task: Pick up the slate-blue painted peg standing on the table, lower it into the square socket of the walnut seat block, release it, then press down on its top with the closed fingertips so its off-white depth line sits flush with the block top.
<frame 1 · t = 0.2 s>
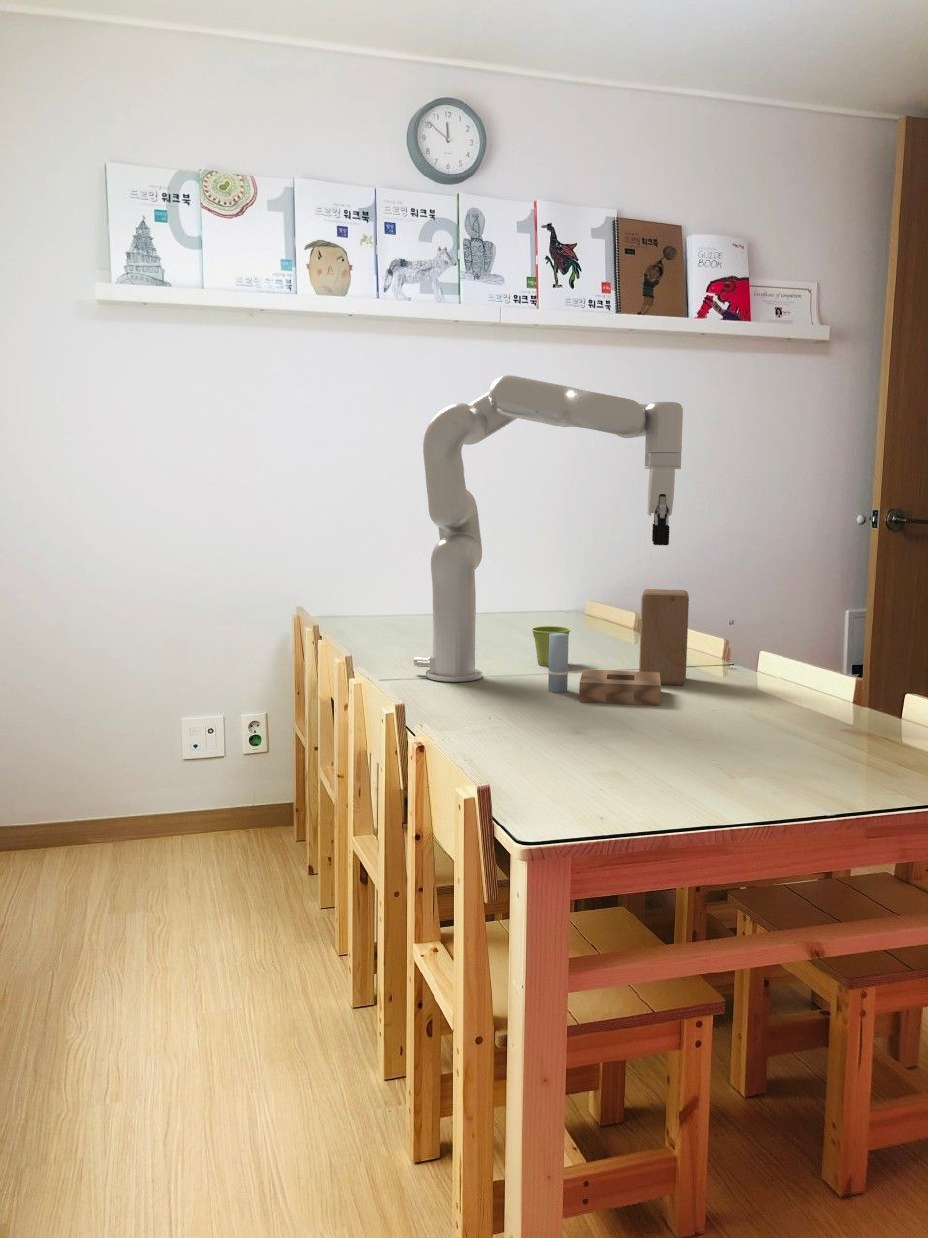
hand: (660, 543, 216), 31 cm above the table, fingers open, 9 cm apart
seat block: (620, 696, 209), on the table
plant pot: (550, 665, 244), on the table
wooden block: (662, 682, 225), on the table
peg: (557, 690, 214), on the table
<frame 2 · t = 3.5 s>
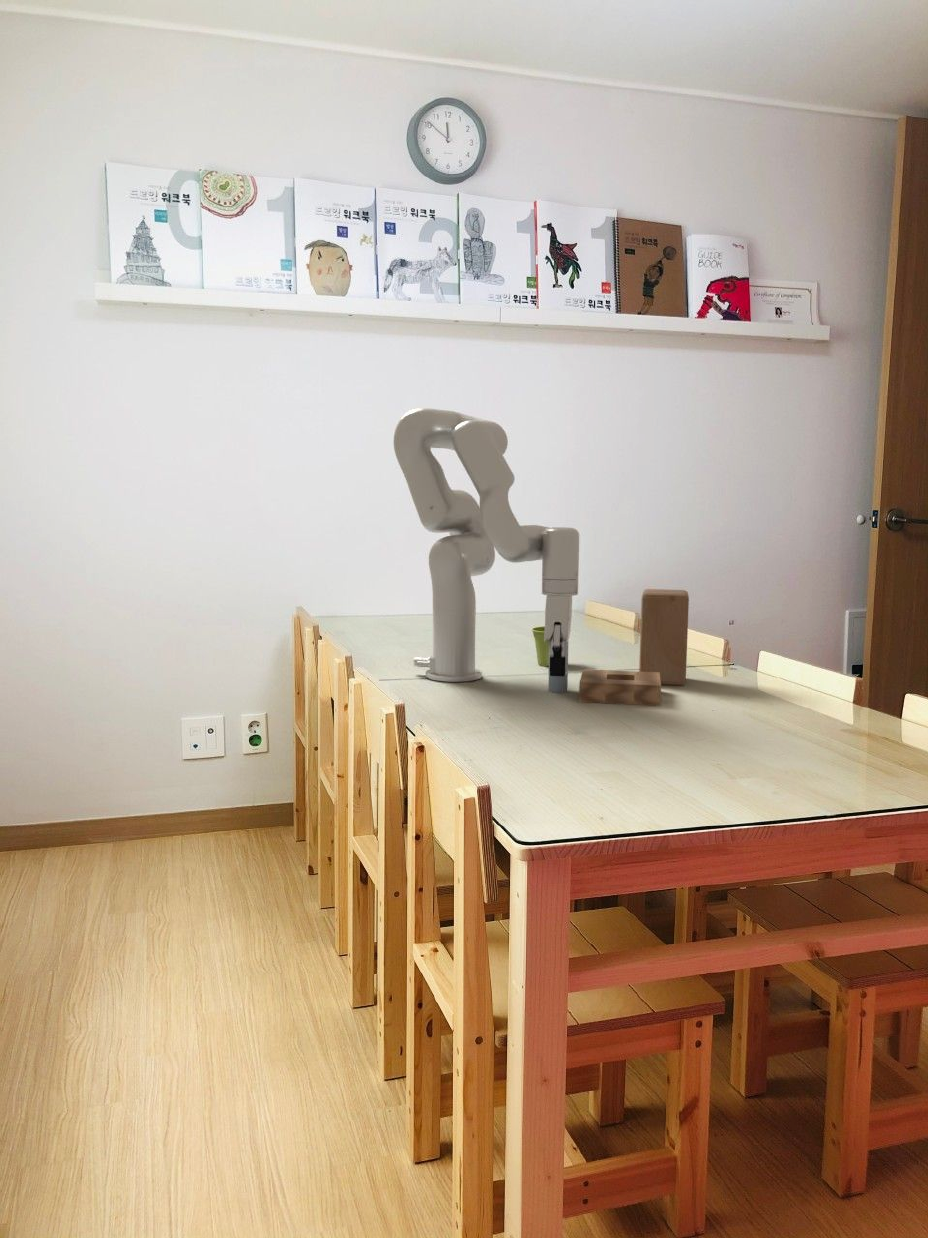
hand: (558, 672, 213), 4 cm above the table, fingers closed on peg, 4 cm apart
peg: (557, 690, 214), on the table, touching gripper
everything else where it was.
when the fingers open (5 cm above the table, at t = 8.3 s): peg drops 1 cm, resting in seat block.
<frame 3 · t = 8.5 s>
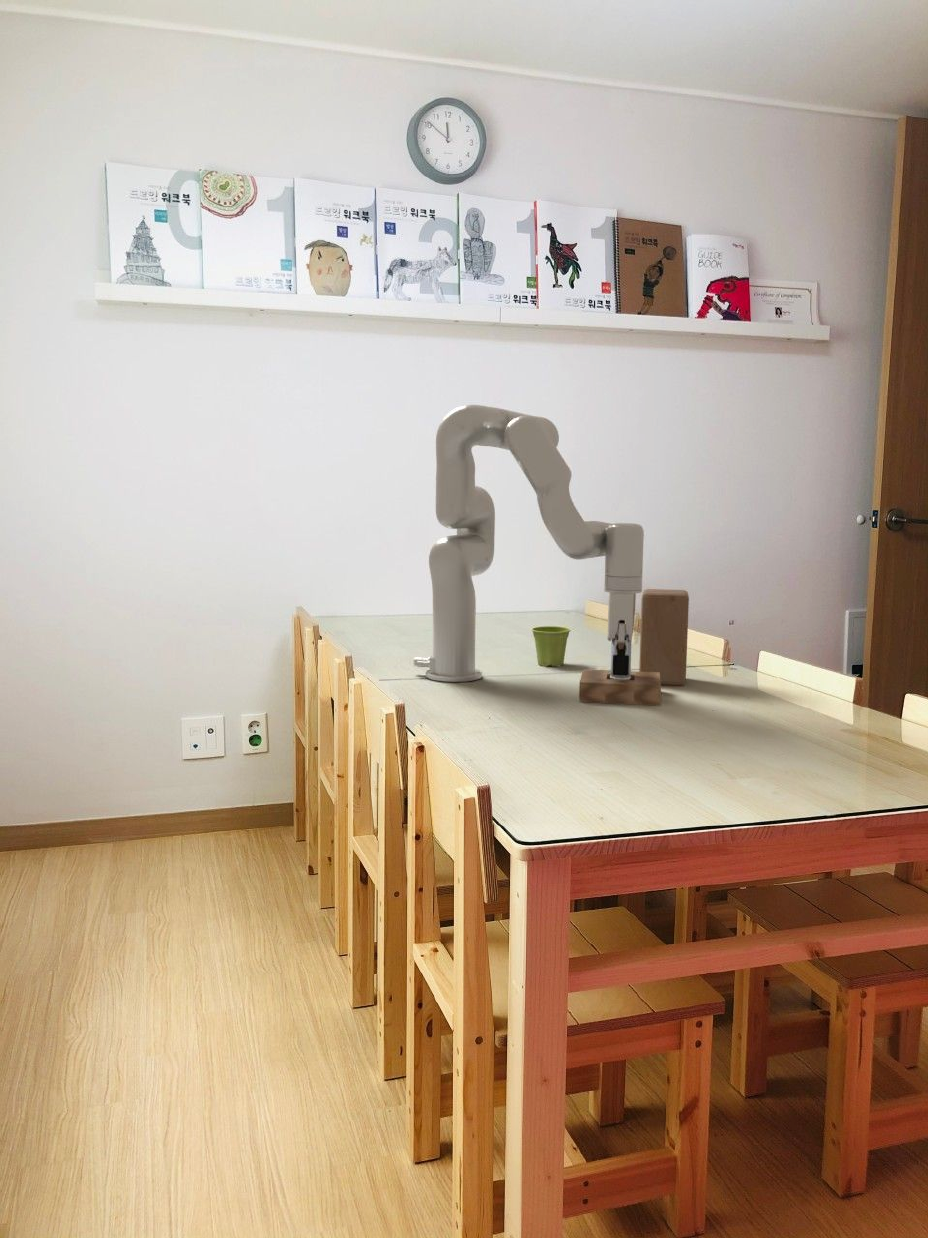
hand: (620, 671, 208), 5 cm above the table, fingers open, 6 cm apart
peg: (619, 696, 209), resting in seat block
everything else where it was.
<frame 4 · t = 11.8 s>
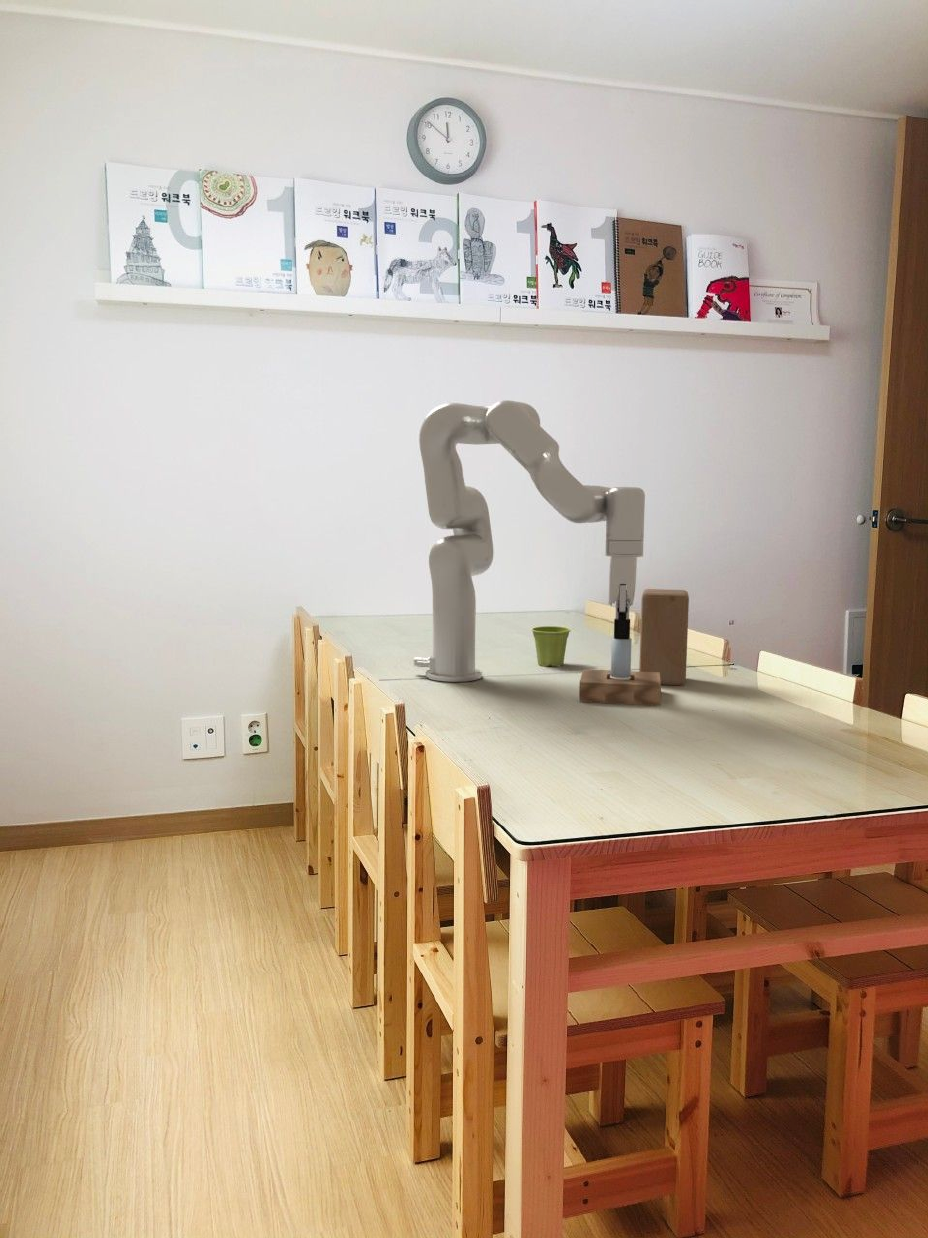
hand: (621, 638, 207), 12 cm above the table, fingers closed
peg: (619, 696, 209), resting in seat block, touching gripper
everything else where it was.
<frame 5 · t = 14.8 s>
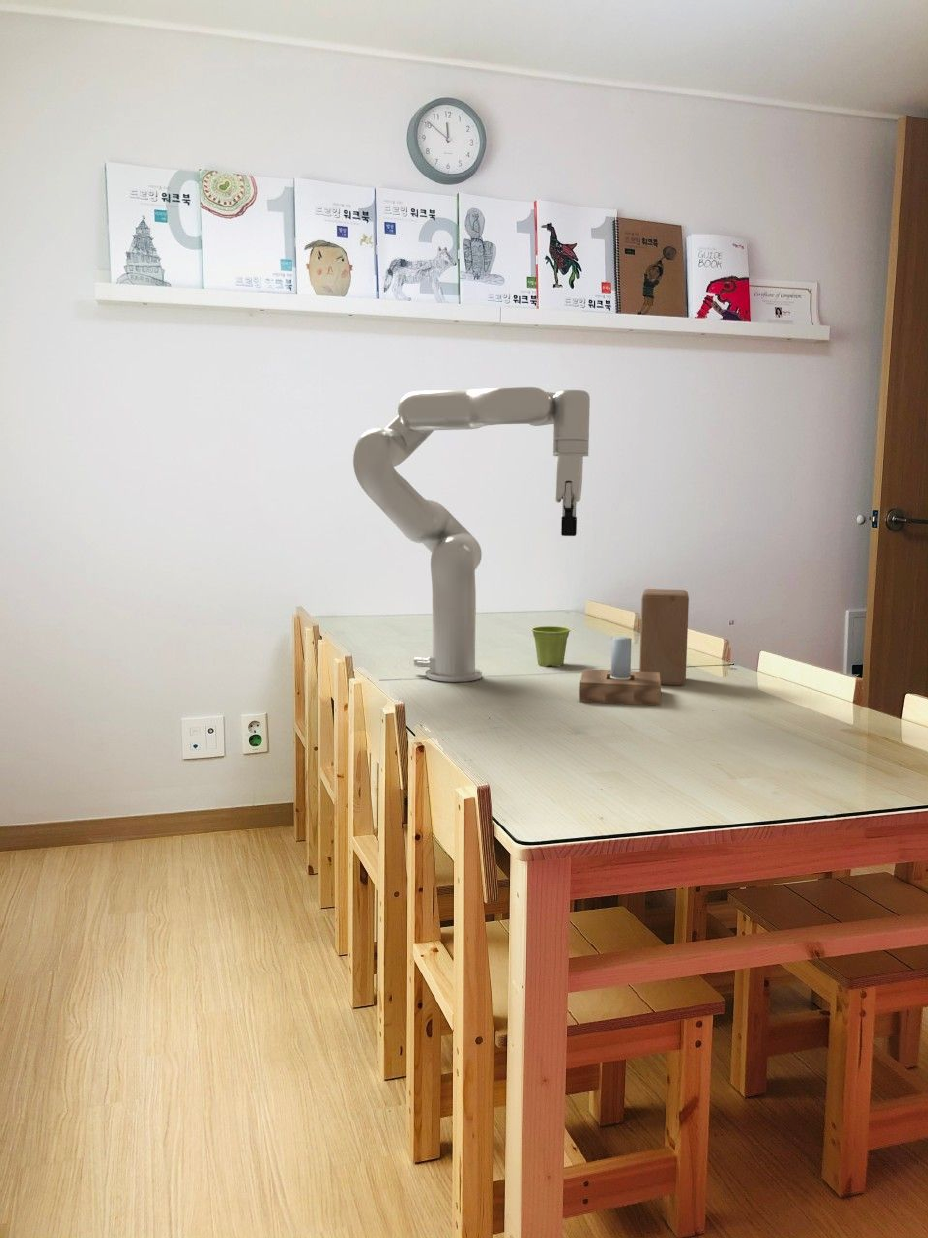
hand: (568, 535, 219), 32 cm above the table, fingers closed
peg: (619, 696, 209), resting in seat block
everything else where it was.
at the end: peg 0.0 cm off-centre on the seat block, point 0.0 cm above the seat block's base; peg tilted 0°; the gripper is holding nothing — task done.
